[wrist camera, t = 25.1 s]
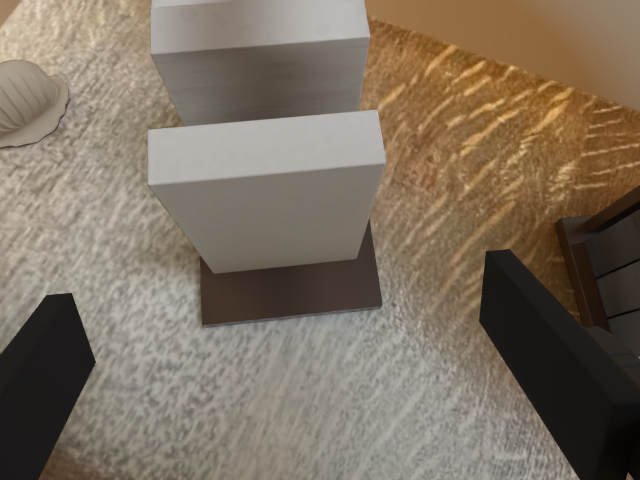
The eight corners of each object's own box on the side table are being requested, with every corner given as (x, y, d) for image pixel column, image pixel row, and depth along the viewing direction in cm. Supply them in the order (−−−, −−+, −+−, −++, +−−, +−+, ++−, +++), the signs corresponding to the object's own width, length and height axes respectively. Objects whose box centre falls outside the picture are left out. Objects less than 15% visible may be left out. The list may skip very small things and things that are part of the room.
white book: (352, 224, 32) (377, 108, 19) (356, 259, 31) (386, 162, 18) (211, 237, 31) (146, 128, 19) (213, 274, 30) (146, 185, 18)
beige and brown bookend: (350, 110, 35) (374, -71, 22) (380, 308, 31) (434, 234, 17) (198, 123, 35) (126, -54, 21) (205, 327, 30) (120, 266, 17)
